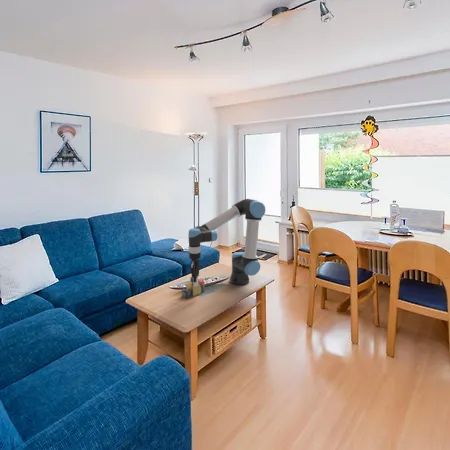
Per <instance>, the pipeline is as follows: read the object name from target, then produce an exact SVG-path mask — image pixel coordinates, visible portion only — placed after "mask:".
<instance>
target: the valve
mask: <svg viewBox="0 0 450 450" xmlns="http://www.w3.org/2000/svg"><path fill="white" fill-rule="evenodd" d="M185 284H186V288H182V291H181V298H183V299H190V298H191V297H196V296H199V295H201V294H202V293H205V292H206V285H205V284H202V285H201V284H198V286H197V287H195V286H193V282H191V281H189V282H186V283H185Z"/></svg>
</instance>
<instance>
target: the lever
mask: <svg viewBox="0 0 450 450" xmlns="http://www.w3.org/2000/svg"><path fill="white" fill-rule="evenodd" d="M189 280H190V282H193V277H192V276H190V279H189ZM198 284H201V285H202V284H203V285H205V281H203V280H201V279H199V278H198Z"/></svg>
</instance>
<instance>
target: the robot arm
mask: <svg viewBox="0 0 450 450" xmlns="http://www.w3.org/2000/svg"><path fill="white" fill-rule="evenodd" d="M265 213H266V206H265V204H264V203H263V202H262V201H260V200H258V199H253V198H252V199H251V198H245V199H242V200H239V201H238V202H236V203H234V204H232V206H231V207H230V208H229V209H227V210H225V211H224V212H222V213H220V214H219V215H217V216H216V217H213V218H212V219H210V220H209V221H207V222H206V223H204V224H202V225H197V226H195V227H194V228H190V229H189V230H188V237H187V238H188V247H187V248H188V252H189V253H188V256H189V257H188V258H189V259H191V264H190V265H189V268H190V273H191V277H193V286H195V287H197V286H198V279H199V278H198V277H200V263H201V258H202V255H201V247H202V246H201V244H203V243H209V242H216V241H218V231H217V229H219V228H220V227H222V226H223V225H225V224H227V223H228V222H230V221H232V220H233V219H235V218H236V217H241V216H243V215H245V216H244V217H245V218H244V219H245V220H246V230H245V240H244V241H245V242H244V243H245V244H244V251H239V252H238V251H237V252H234V253H232V255H231V274H230V277H229V283H230V284H233V285H235V286H245V285H248V284H249V283H250V277H251V276H252V277H253V276H255V275H257V274H258V273H259V271H260V270H261V264H260V262H259V261H258V260H259V256H258V255H257V251H258V237H259V226H260V222H261V221H262V219H263V217H264V215H265Z"/></svg>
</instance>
